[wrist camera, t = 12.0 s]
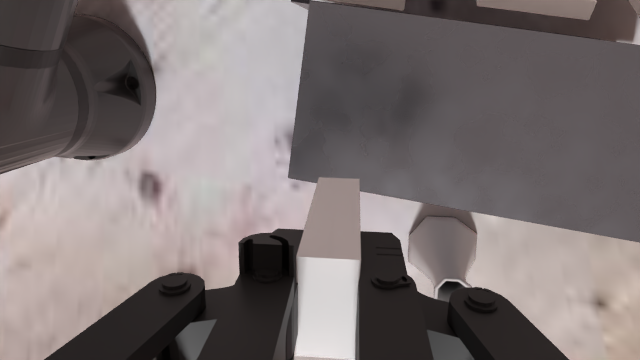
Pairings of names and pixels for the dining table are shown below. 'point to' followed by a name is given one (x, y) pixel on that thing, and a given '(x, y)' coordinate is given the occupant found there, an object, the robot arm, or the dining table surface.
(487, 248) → the dining table surface
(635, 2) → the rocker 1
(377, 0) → the cream flat slab
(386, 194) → the card holder crate
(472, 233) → the flask
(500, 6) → the cream flat slab
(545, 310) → the dining table surface
